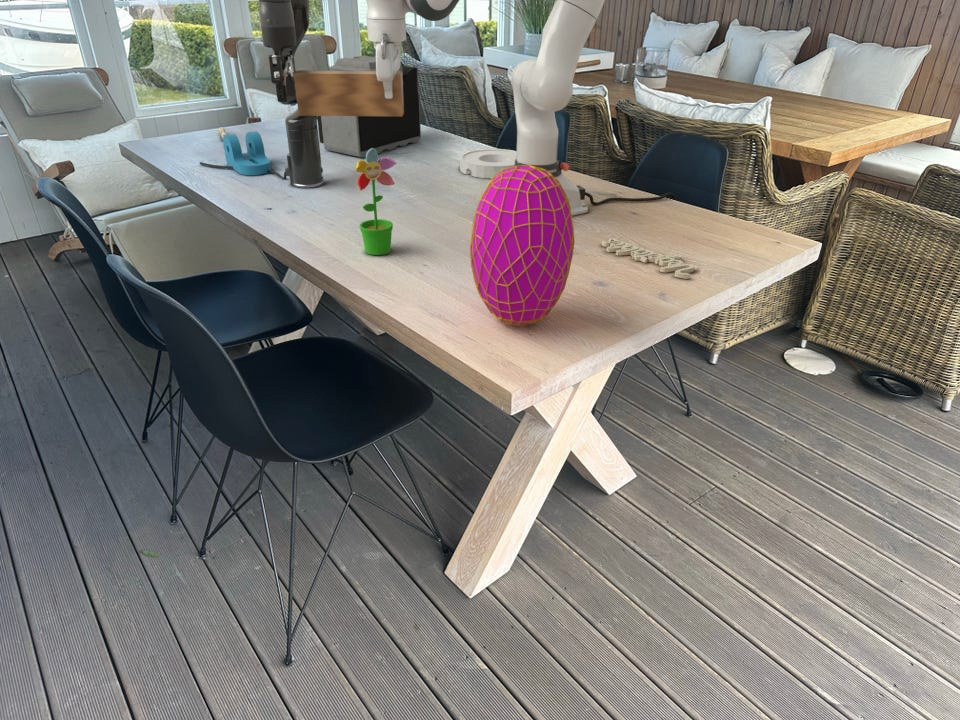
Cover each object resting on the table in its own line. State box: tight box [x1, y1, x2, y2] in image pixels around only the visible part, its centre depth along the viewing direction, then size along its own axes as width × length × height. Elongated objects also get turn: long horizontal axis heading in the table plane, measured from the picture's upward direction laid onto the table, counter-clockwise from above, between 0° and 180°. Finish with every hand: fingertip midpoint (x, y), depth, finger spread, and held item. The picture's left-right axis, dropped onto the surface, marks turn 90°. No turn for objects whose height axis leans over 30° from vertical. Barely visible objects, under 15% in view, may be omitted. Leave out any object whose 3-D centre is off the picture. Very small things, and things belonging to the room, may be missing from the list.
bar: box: [294, 70, 404, 116], centre depth 164 cm, size 25×4×10 cm, turn 91°
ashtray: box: [459, 148, 517, 180], centre depth 231 cm, size 23×23×4 cm
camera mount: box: [222, 131, 272, 176], centre depth 226 cm, size 18×10×10 cm, turn 35°
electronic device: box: [317, 55, 422, 159], centre depth 250 cm, size 37×22×30 cm, turn 144°
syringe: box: [218, 127, 229, 142], centre depth 264 cm, size 25×4×3 cm, turn 21°
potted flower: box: [355, 148, 397, 256], centre depth 160 cm, size 9×8×25 cm
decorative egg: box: [469, 165, 576, 326], centre depth 128 cm, size 19×19×30 cm
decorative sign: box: [601, 237, 696, 280], centre depth 164 cm, size 26×1×10 cm
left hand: (286, 98), depth 165 cm, fingers open, 8 cm apart
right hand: (390, 95), depth 165 cm, fingers closed on bar, 4 cm apart
